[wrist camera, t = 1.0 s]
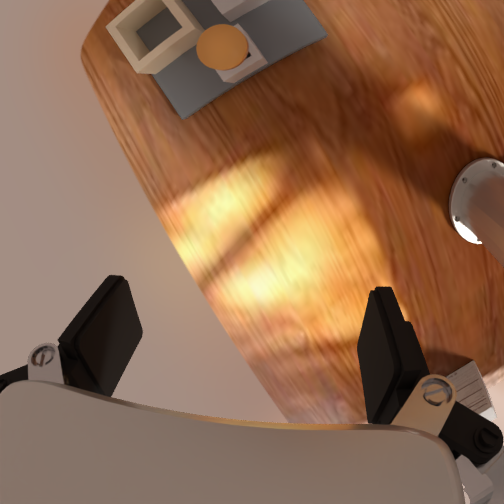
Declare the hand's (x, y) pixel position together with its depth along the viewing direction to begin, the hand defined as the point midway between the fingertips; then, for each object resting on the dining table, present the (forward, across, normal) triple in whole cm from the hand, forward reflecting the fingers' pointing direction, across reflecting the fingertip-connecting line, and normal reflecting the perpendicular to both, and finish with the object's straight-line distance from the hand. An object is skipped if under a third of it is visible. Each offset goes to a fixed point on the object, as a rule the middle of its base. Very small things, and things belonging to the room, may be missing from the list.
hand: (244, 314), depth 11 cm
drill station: (+29, +7, -17) cm, 35 cm away
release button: (+25, +4, -12) cm, 28 cm away
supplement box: (+28, -41, +41) cm, 64 cm away
